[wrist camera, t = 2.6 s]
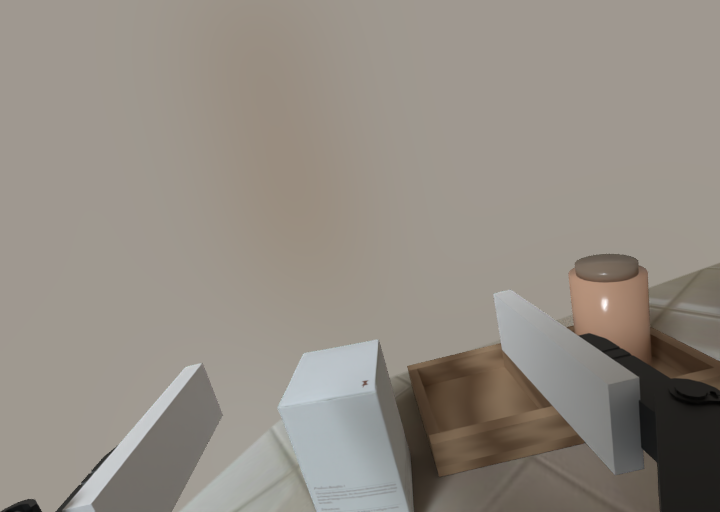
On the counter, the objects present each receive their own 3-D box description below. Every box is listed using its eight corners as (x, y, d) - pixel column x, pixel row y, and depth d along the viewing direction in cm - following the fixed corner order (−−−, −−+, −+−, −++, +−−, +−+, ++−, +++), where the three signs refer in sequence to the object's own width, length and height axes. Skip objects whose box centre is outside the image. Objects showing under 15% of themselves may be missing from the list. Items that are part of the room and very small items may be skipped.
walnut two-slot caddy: (625, 339, 40) (623, 313, 39) (738, 406, 29) (739, 371, 28) (413, 391, 41) (407, 365, 40) (439, 477, 29) (431, 444, 28)
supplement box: (412, 453, 32) (382, 336, 29) (416, 535, 25) (377, 391, 22) (338, 461, 34) (302, 350, 31) (323, 542, 26) (274, 407, 23)
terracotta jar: (619, 351, 37) (612, 248, 34) (670, 383, 31) (666, 262, 29) (566, 364, 37) (554, 262, 34) (606, 398, 31) (596, 280, 29)
